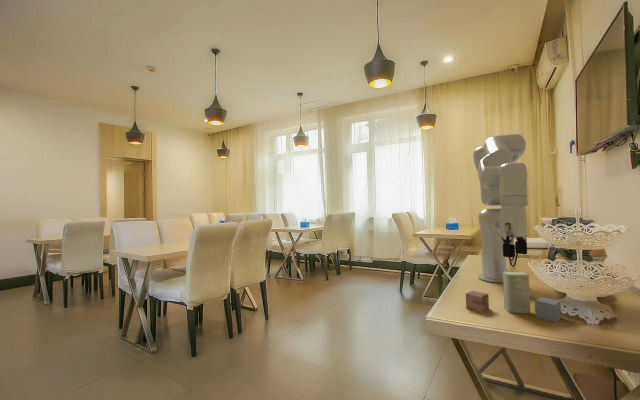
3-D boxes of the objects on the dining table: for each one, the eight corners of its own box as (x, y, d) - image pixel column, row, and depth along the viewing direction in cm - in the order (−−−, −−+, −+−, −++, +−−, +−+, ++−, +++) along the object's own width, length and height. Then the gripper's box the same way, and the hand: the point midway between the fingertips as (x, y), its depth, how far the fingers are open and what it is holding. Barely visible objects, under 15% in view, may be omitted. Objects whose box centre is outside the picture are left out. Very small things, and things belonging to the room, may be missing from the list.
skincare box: (525, 309, 97) (524, 271, 97) (530, 314, 92) (529, 274, 93) (503, 307, 98) (502, 270, 99) (507, 312, 94) (506, 274, 94)
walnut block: (473, 305, 102) (472, 290, 102) (488, 309, 98) (488, 293, 98) (466, 308, 99) (465, 293, 99) (481, 312, 95) (481, 296, 95)
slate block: (541, 313, 93) (540, 297, 93) (560, 318, 89) (560, 301, 89) (535, 317, 90) (534, 300, 90) (555, 322, 86) (555, 305, 86)
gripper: (511, 202, 104) (513, 251, 103) (489, 202, 93) (490, 256, 93) (536, 201, 98) (538, 253, 98) (516, 201, 88) (518, 260, 87)
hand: (515, 255), depth 95 cm, fingers open, 9 cm apart
